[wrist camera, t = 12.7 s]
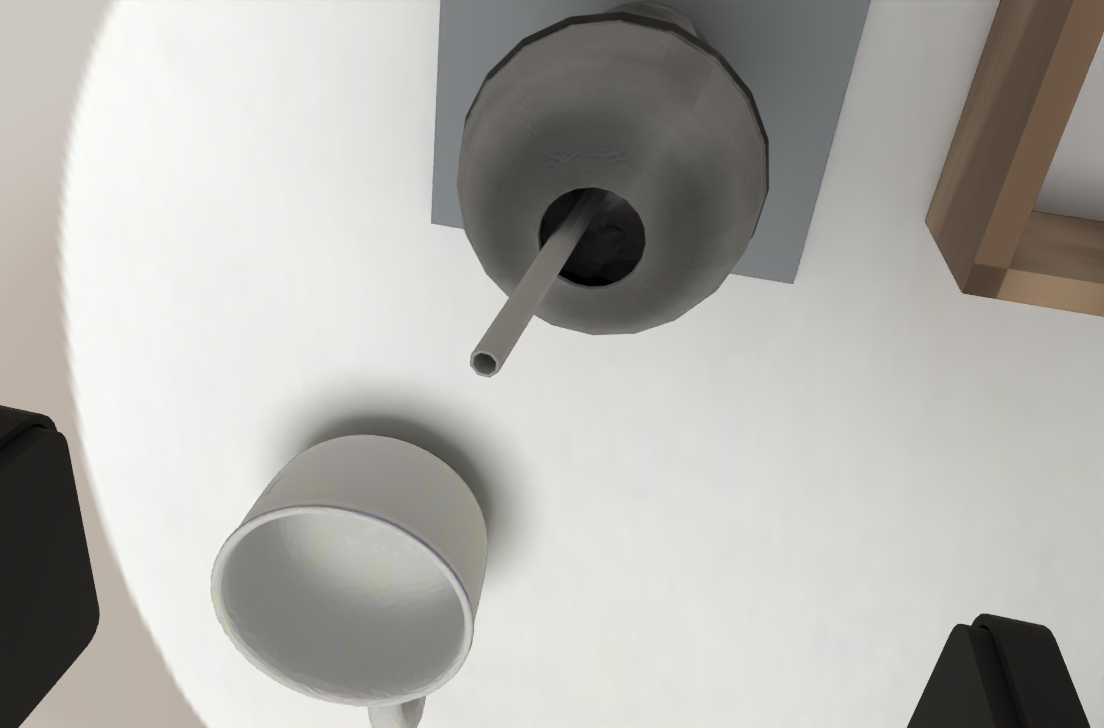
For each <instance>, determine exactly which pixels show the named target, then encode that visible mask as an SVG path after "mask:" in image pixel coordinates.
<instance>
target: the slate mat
mask: <svg viewBox="0 0 1104 728" xmlns="http://www.w3.org/2000/svg"><path fill="white" fill-rule="evenodd" d="M645 1H651V2H655V3H659V4H663V5H668V6H670V7H672V8H674V9H675V10H677V11H678V12H680V13H682V14H683V15H685V16H686V17H688V18H689V19H690V20H691V21H692V22H693V24H694V25H695V26H696V27H697V29H698V30H699V31H700V32H701V34H702V35H703V36H704V37H705V39H706V40H707V42H708V44H709V45H710V46H711V47H713V48H715V49H716V50H718V51H719V52H720V53H721V54H722V55H723V57H724V58H725V59H726V60H727V62H728V63H729V64H730V65H731V67H732V68H733V69H734V70H735V72H736V73H737V74H738V75H739V77H740V78H741V79H742V80H743V82H744V83H745V84H746V85H747V87H748V88H749V89H750V90H751V92H752V94H753V97H754V100H755V102H756V105H757V108H758V111H759V114H760V117H761V119H762V122H763V125H764V128H765V131H766V134H767V136H768V139H769V191H768V194H767V197H766V200H765V203H764V206H763V209H762V212H761V215H760V218H759V221H758V224H757V227H756V230H755V233H754V235H753V237H752V238H751V240H750V241H749V244H748V247H747V249H746V251H745V252H744V254H743V256H742V257H741V258H740V260H739V261H738V262H737V264H736V265H735V267H734V268H733V269H732V271H731V272H730V274H736V275H742V276H748V277H754V278H760V279H766V280H772V281H778V282H784V283H790V284H794V280H795V276H796V273H797V269H798V265H799V262H800V258H801V254H802V251H803V247H804V243H805V239H806V236H807V232H808V228H809V225H810V221H811V217H812V214H813V210H814V206H815V203H816V199H817V195H818V192H819V188H820V184H821V181H822V177H823V173H824V170H825V166H826V162H827V158H828V155H829V151H830V147H831V144H832V140H833V136H834V133H835V129H836V125H837V122H838V118H839V114H840V111H841V107H842V103H843V100H844V96H845V92H846V89H847V85H848V81H849V78H850V74H851V70H852V66H853V63H854V59H855V55H856V52H857V48H858V44H859V41H860V37H861V33H862V30H863V26H864V22H865V19H866V15H867V11H868V8H869V4H870V0H441V1H440V24H439V48H438V72H437V96H436V120H435V144H434V167H433V191H432V215H431V223H432V224H438V225H444V226H450V227H456V228H462V229H464V226H463V220H462V215H461V209H460V203H459V198H458V192H457V186H456V185H457V175H458V168H459V158H460V151H461V144H462V137H463V131H464V124H465V117H466V115H467V113H468V111H469V109H470V107H471V105H472V103H473V101H474V99H475V97H476V95H477V93H478V91H479V89H480V87H481V85H482V83H483V81H484V79H485V77H486V75H487V73H488V72H489V71H490V70H491V69H492V68H493V67H494V66H496V65H497V64H498V63H499V62H500V61H501V60H502V59H503V58H504V57H505V56H506V55H507V54H508V53H509V52H510V51H511V50H512V49H513V48H514V47H515V46H516V45H517V44H518V43H519V42H520V41H521V40H522V39H523V38H525V37H527V36H530V35H532V34H534V33H536V32H538V31H540V30H542V29H544V28H547V27H549V26H551V25H553V24H555V23H557V22H559V21H562V20H564V19H566V18H568V17H571V16H580V15H590V14H599V13H604V12H606V11H608V10H611V9H613V8H615V7H617V6H619V5H621V4H627V3H636V2H645Z"/></svg>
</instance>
